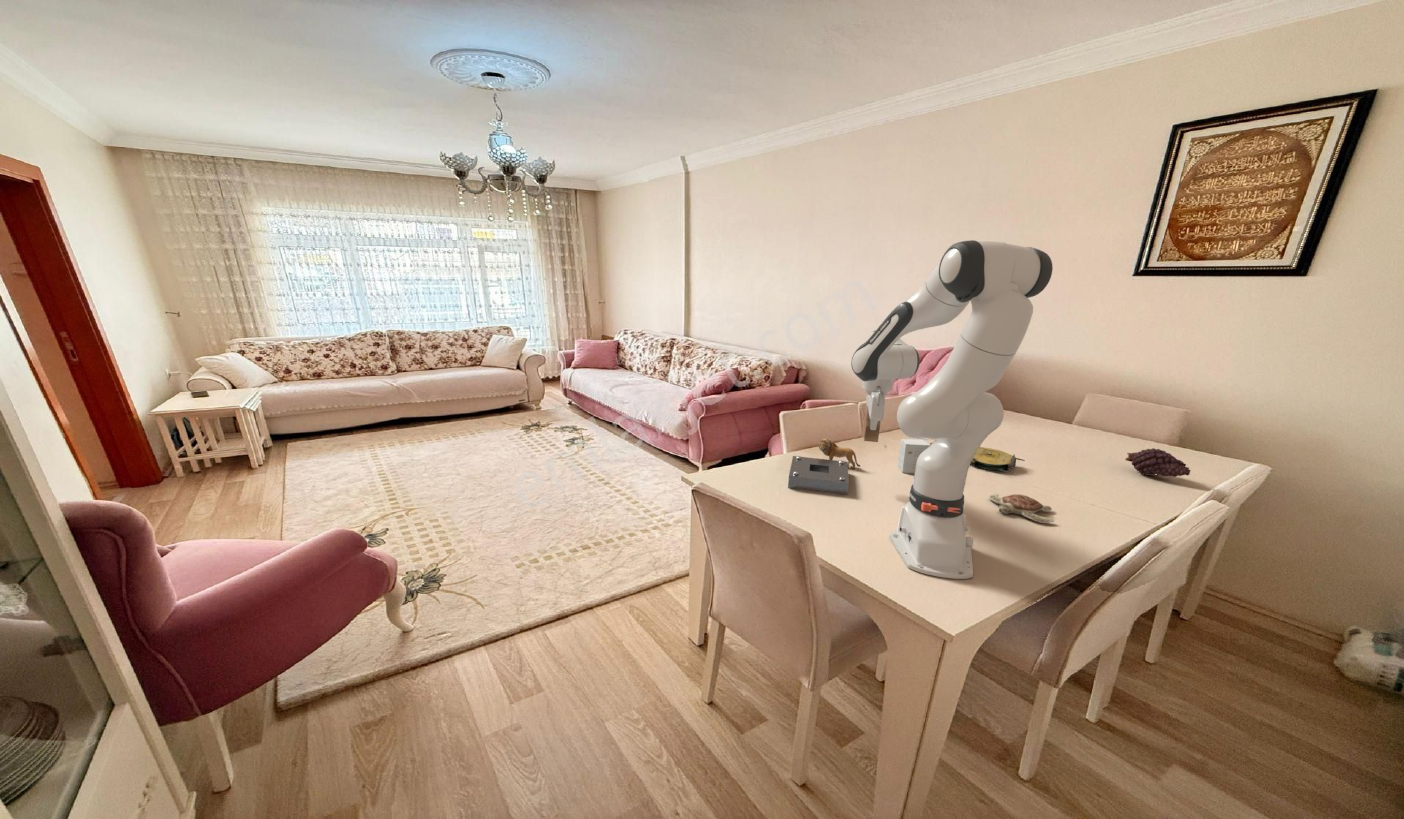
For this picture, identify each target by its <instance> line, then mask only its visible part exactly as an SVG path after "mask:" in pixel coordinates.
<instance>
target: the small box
mask: <svg viewBox="0 0 1404 819" xmlns="http://www.w3.org/2000/svg"><path fill="white" fill-rule="evenodd" d="M929 446H930V443H928V442H927V440H924V439H915V438H913V439H910V438H909V439H908V438H901V440H900V448H899V456H898V461H897V464H898V465H897V468H898V469H899V470H900V471H901V473H902V474H915V470H916V464H917V459H918V457H919V455H920V454H921V453H922V452H923V451H924V450H926V449H927V448H928V447H929Z"/></svg>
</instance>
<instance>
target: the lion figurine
mask: <svg viewBox="0 0 1404 819" xmlns="http://www.w3.org/2000/svg"><path fill="white" fill-rule="evenodd" d="M818 449H819V450H820V451H821V452H822V453H823V455H825V457H826V456H827V457H828V460H834V457H836V458H839V459H840V458H844V457H845V458H846V460H847V464H848V466H849V465H850V464H851V465H852V466H851V467H850V469H851V468H852V469H851V470H854V469H856V466H857V467H860V468H861V465H860V464H859V463H858V460H857V456H856V452H855V451H854V450H853V449H852V448H850V447H839V446H838V445H837V444H836V443H835V442H833V441H831V440H830V439H827V438H822V439H820V440H819V444H818ZM853 458H854V459H853Z"/></svg>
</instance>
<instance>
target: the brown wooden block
mask: <svg viewBox="0 0 1404 819" xmlns="http://www.w3.org/2000/svg"><path fill="white" fill-rule="evenodd" d="M868 411H869V409H868V406H867V405H866V414H865V423H864V424H865V425H864V430H863V441H864V442H873V443H879V437H880V436H879V435H880V427H881V423H882V421H878V423H877V427H876V430H871V429H870V422H871V420H870V417H869V412H868Z"/></svg>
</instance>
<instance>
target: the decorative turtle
mask: <svg viewBox="0 0 1404 819" xmlns="http://www.w3.org/2000/svg"><path fill="white" fill-rule="evenodd" d="M999 495H1000V494H998V493H994V494H990V495H989V496H988V498H989V500H991V501H992V502H994V503H995V504H998V505H999V506H998V512H999V513H1000V514H1005V515H1006V514H1007V515H1008V514H1010V513H1011V514H1015V515H1021V516H1022V517H1025V518H1027V519H1030V520H1032V521H1035V522H1038V523H1040V524H1041V523H1042V524H1050V523H1053V522H1054V521H1055V520H1054V519H1053V518H1049V517H1044V516H1040V515H1038V514H1035V513H1037V512H1039V511H1044V512H1051V511H1052V510H1053V509H1052V507H1051V506H1050V505H1049V506H1048V505H1044V504H1042V503H1040V502H1039V501H1037V500H1036V499H1035V498H1033V497H1030V496H1028V495H1024V494H1017V493H1016V494H1009V495H1007V496H1006V495H1005V496H1003V497H1002V498H1001V497H999Z"/></svg>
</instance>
